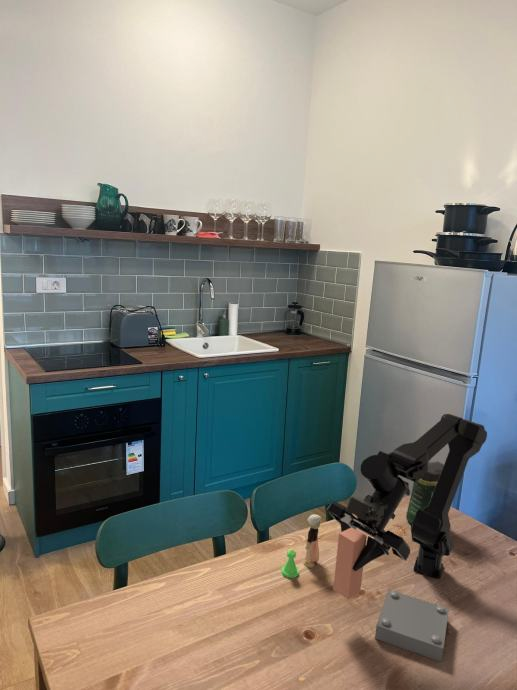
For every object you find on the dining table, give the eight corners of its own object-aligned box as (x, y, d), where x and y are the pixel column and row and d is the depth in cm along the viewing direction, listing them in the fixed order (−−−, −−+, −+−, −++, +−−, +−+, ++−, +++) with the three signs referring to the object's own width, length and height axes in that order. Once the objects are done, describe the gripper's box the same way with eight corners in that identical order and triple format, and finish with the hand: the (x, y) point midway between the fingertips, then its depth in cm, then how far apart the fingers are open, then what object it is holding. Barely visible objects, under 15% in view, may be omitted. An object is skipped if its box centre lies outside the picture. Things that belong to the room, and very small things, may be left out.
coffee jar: (419, 532, 151) (428, 471, 148) (401, 518, 158) (409, 459, 155) (445, 527, 155) (454, 467, 152) (427, 513, 162) (435, 456, 159)
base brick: (386, 601, 121) (388, 587, 120) (447, 620, 116) (449, 606, 115) (374, 638, 109) (376, 623, 109) (441, 661, 104) (443, 646, 104)
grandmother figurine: (317, 571, 130) (322, 523, 128) (301, 568, 131) (306, 521, 128) (320, 554, 137) (324, 508, 135) (305, 551, 138) (309, 506, 136)
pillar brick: (345, 582, 116) (351, 527, 113) (360, 592, 113) (366, 536, 110) (333, 589, 113) (339, 533, 110) (347, 599, 110) (354, 542, 107)
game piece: (296, 580, 126) (298, 557, 125) (278, 575, 128) (280, 552, 126) (300, 569, 130) (302, 547, 129) (283, 565, 132) (285, 543, 130)
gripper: (336, 466, 117) (296, 528, 113) (409, 501, 104) (367, 573, 99) (355, 490, 124) (318, 549, 119) (426, 526, 110) (388, 594, 105)
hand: (345, 564), depth 111 cm, fingers closed on pillar brick, 4 cm apart
